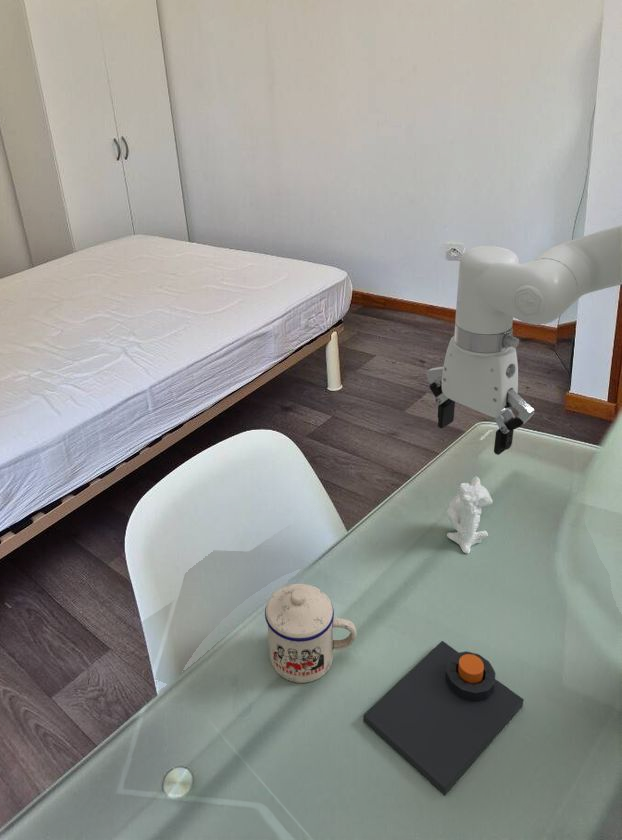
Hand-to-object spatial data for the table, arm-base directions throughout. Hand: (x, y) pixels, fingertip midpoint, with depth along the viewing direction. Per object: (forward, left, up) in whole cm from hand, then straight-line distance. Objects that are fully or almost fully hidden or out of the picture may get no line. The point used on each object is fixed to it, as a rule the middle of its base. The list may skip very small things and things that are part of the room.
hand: (472, 436), depth 103 cm
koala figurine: (0, 0, -20) cm, 20 cm away
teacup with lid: (+1, +34, -20) cm, 40 cm away
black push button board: (-16, +28, -20) cm, 38 cm away
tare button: (-16, +23, -17) cm, 33 cm away
